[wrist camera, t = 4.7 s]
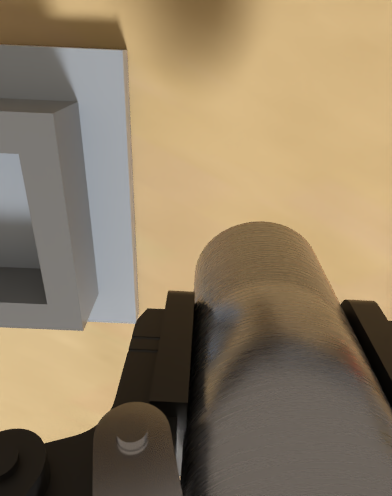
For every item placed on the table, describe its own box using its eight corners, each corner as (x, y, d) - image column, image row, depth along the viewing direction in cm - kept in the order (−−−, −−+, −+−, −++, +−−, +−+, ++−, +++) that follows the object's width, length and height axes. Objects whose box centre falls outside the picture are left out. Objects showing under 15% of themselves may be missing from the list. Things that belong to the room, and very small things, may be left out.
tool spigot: (330, 225, 11) (752, 861, 2) (306, 327, 13) (496, 893, 4) (197, 218, 11) (148, 817, 3) (192, 322, 13) (157, 868, 4)
